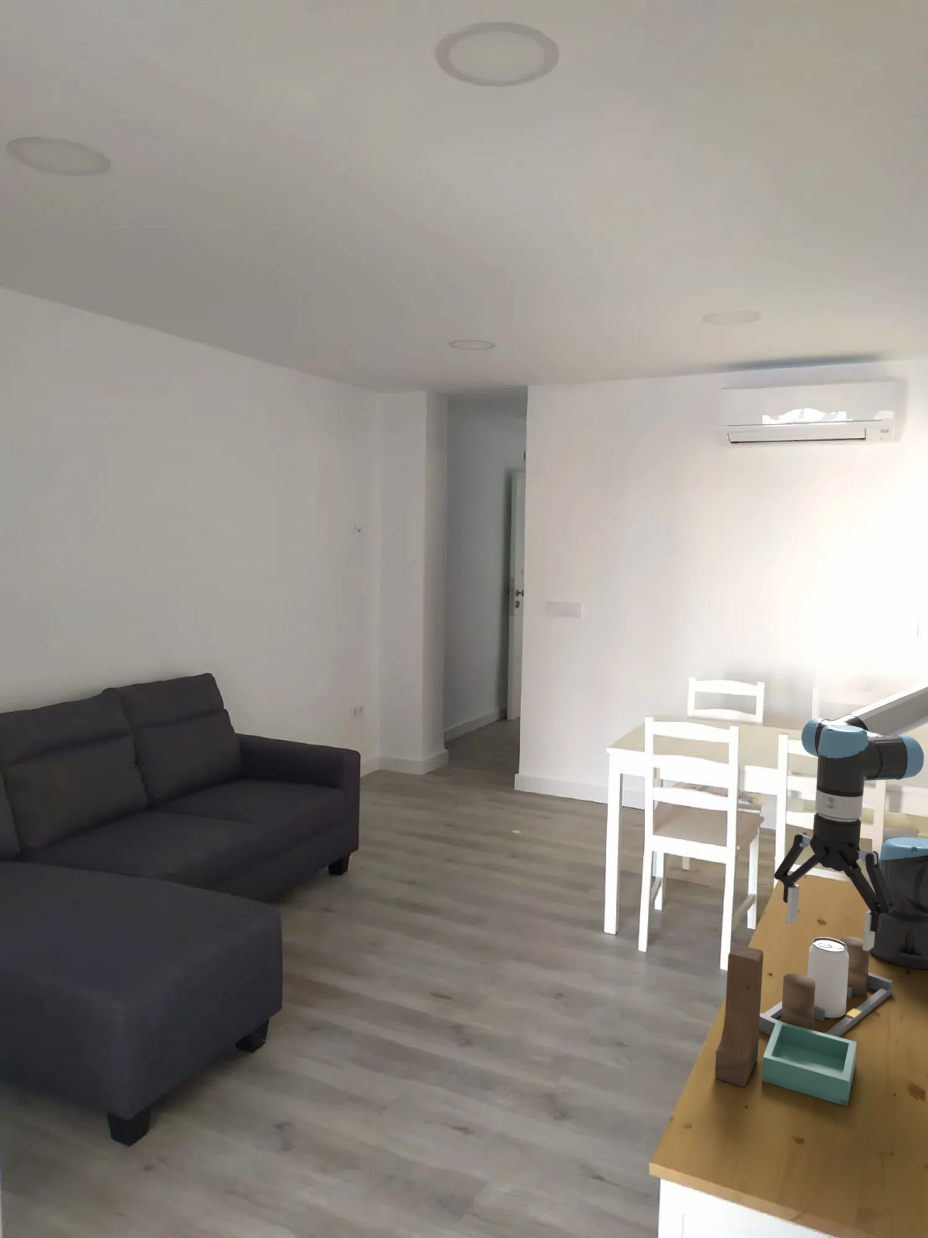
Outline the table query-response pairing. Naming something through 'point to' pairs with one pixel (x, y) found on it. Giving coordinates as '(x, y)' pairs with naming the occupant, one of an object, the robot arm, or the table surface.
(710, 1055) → the table surface
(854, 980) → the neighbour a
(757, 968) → the wooden block
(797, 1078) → the tray
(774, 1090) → the table surface
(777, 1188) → the table surface
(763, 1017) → the grey flat open frame
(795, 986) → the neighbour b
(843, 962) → the can
